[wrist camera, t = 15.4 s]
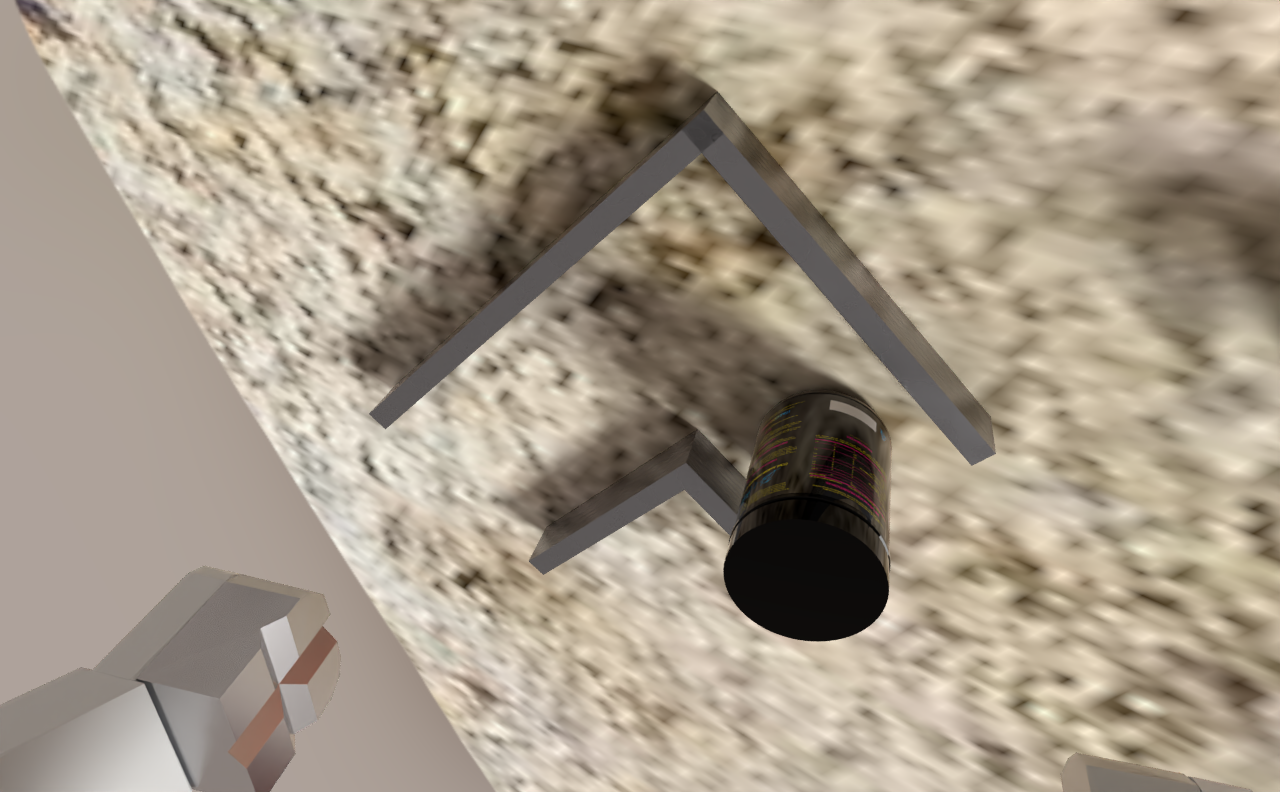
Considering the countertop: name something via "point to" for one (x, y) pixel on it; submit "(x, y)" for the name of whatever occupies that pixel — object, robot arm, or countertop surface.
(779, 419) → the supplement container
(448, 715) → the countertop surface
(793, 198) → the metal angle brackets
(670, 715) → the countertop surface
